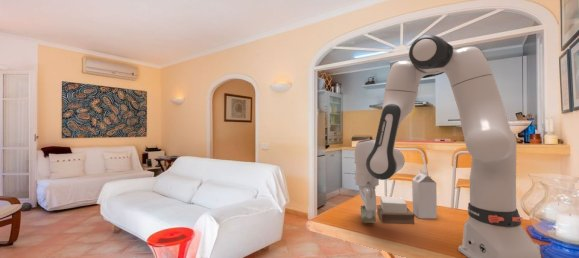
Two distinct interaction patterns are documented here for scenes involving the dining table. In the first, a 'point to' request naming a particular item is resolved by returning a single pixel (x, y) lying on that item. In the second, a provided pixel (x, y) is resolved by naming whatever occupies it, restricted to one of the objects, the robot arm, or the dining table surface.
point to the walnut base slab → (395, 217)
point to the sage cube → (364, 216)
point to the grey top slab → (393, 205)
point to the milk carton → (424, 196)
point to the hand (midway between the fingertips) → (368, 214)
